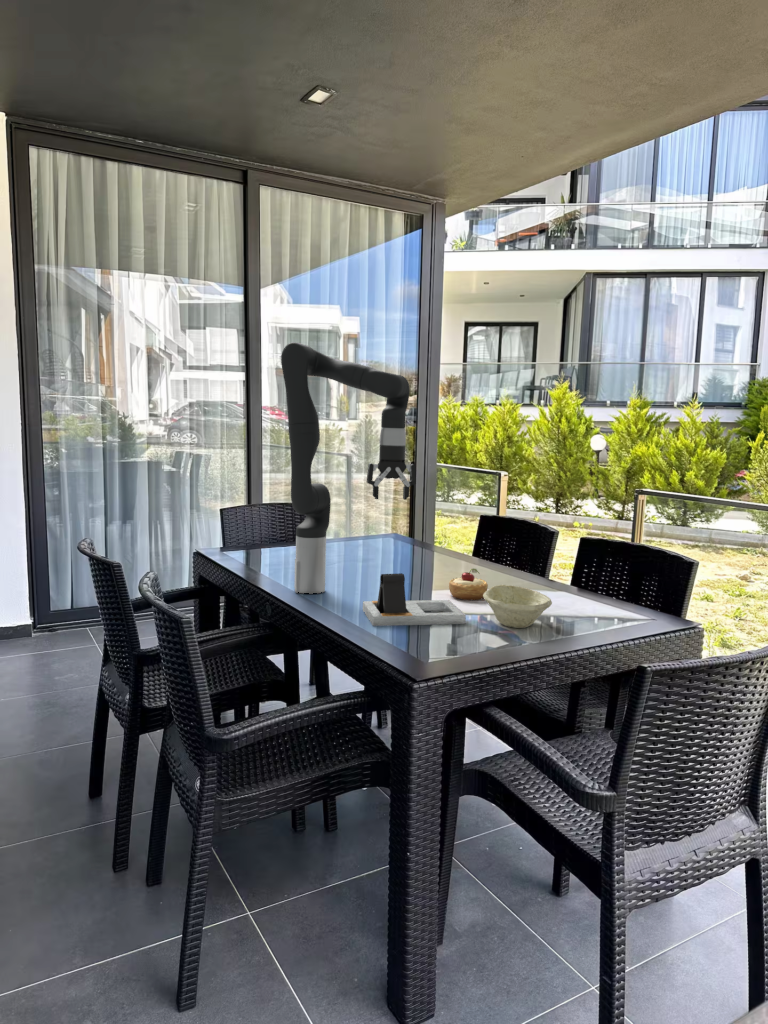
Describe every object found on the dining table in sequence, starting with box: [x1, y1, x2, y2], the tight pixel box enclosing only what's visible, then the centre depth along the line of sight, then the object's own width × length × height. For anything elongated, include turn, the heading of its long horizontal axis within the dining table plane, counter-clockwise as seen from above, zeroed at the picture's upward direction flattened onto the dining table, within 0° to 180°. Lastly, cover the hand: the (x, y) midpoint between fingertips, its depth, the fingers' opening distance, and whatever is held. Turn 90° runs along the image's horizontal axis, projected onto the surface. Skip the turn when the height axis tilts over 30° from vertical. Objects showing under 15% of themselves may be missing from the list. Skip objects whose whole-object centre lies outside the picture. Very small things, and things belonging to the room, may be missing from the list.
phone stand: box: [377, 572, 407, 613], centre depth 199 cm, size 9×6×12 cm, turn 18°
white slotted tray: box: [362, 599, 467, 627], centre depth 200 cm, size 25×16×3 cm, turn 101°
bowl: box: [483, 584, 553, 629], centre depth 195 cm, size 14×18×15 cm
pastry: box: [448, 568, 489, 601], centre depth 226 cm, size 12×12×9 cm
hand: (390, 499), depth 216 cm, fingers open, 8 cm apart
